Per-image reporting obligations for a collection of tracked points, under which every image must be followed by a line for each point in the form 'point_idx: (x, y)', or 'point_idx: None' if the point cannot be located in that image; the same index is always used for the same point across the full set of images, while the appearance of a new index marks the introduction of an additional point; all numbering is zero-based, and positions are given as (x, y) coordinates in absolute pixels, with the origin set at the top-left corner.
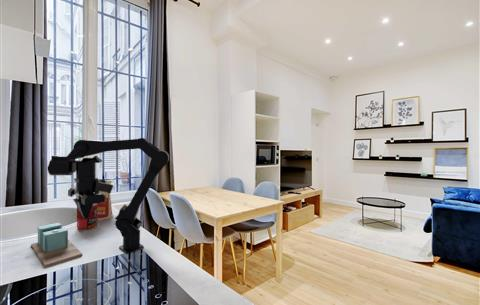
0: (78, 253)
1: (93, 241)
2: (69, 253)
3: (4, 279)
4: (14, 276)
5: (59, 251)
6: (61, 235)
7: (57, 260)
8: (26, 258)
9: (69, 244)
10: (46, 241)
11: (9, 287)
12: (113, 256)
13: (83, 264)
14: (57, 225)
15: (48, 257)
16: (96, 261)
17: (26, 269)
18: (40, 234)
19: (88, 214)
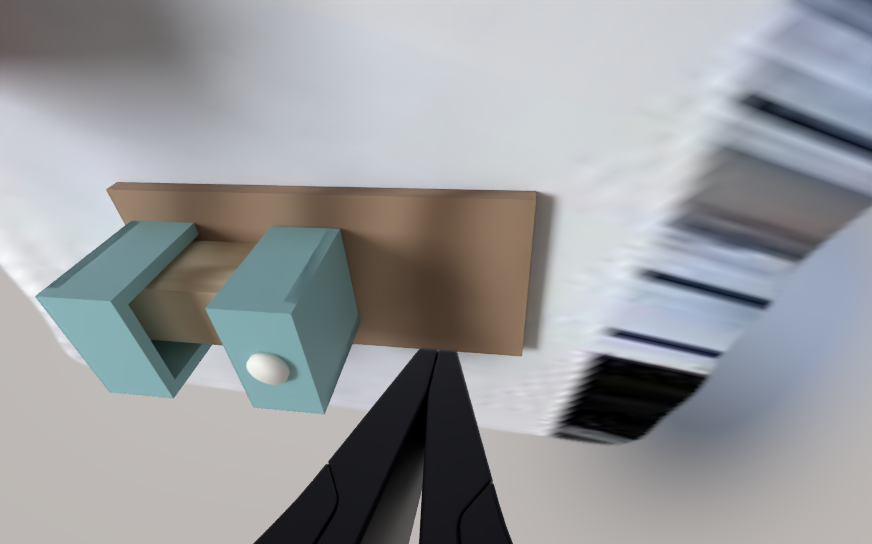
0: (514, 216)
1: (300, 33)
2: (466, 250)
3: (506, 430)
4: (509, 413)
5: (389, 277)
6: (314, 324)
7: (516, 312)
8: (347, 361)
9: (302, 210)
10: (338, 372)
11: (593, 435)
12: (801, 5)
13: (679, 224)
14: (120, 323)
15: (436, 327)
16: (729, 151)
17: (476, 383)
18: (194, 366)
19: (471, 412)
